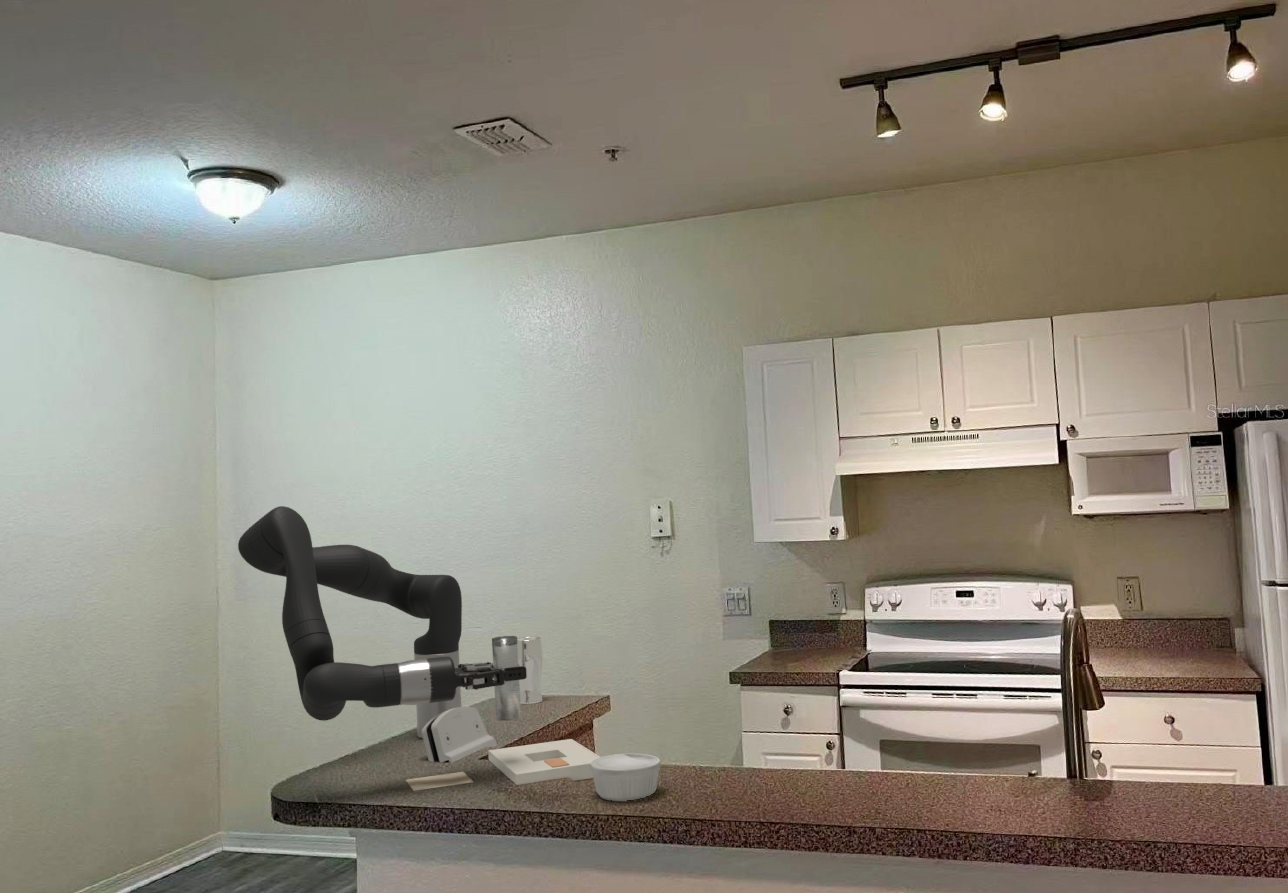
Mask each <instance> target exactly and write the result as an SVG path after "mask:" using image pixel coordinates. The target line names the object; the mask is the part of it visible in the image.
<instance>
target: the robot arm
mask: <svg viewBox="0 0 1288 893" xmlns="http://www.w3.org/2000/svg"><path fill="white" fill-rule="evenodd" d="M237 543H238V544H237V545H238V547H237V549H238V552H239V554H240V556H241V557H242V559H243V560H244V561H245V562H246V563H247V564H248V565H249V566H251V567H253V568H254V569H256V570H259V571H260V572H263V573H266V574H270V575H273V576H275V575H276V576H280V577H285V578H286V580H285V590H284V597H283V603H282V610H281V611H282V613H281V620H282V621H281V622H282V623H281V624H282V628H283V629H282V630H283V634H284V637H285V641H286V644H287V646H288V651H289V653H290V656H291V658H292V661H293V664H294V669H295V673H296V680H297V686H298V690H299V695H300V699H301V703H302V705H303V708H304V709H305V712H306V713H307V714H308V715H309V716H310V717H311V718H313V719H315V720H317V721H329V720H333V719H335V718H336V717H337V716H339V715H341V713H342V711H343V709H344V708H345V706H346V703H347V702H348V701H350V702H351V701H354V702H355V701H358V702H362V701H363V703H364V704H365V706H367V707H369V708H374V709H375V708H386V707H393V706H394V707H395V706H404V705H405V706H416V728H417V730H416V732H417V737H418V738H420V739H423V736H422V729H423V728H424V726H425V725H426V724H427V723H428V722H429V721H430V720H431V719H433V718H434V717H436V716H437V715H438V714H440V713H442V712H445V711H447V710H450V709H453V708H458V707H462V689H461V687H462V688H465V689H464V690H465V691H466V690H480V689H487V688H492V687H494V686H498V685H504V683H505V682H506V681H513V680H522V679H526V677H527V674H526V667H524V666H518V667H510V668H503V667H500V668H493V662H490V661H487V662H477V663H476V662H475V663H460V650H459V648H460V647H459V646H460V640H461V637H462V624H463V623H462V622H463V621H462V617H463V616H462V615H463V611H462V610H463V606H462V605H463V602H462V600H463V598H462V591H461V587H460V584H459V582H458V581H457V579H456V578H455V577H454V576H452V575H449V574H415V573H408V572H405V571H401V570H398V569H397V568H396V569H395V568H393V567H392V565H391V564H390V562H389V561H388V560H387V559H386V558H384V556H382V555H380V554H378V553H376V552H375V551H372V550H369V549H366V548H364V547H360V546H358V545H354V544H332V545H323V546H313V541H312V536H311V532H310V529H309V527H308V524H307V523H306V521H305V519H304V518H303V516H302V515H301V514H300V513H298V512H297V511H296V510H295V509H293V508H291V507H288V506H284V505H283V506H281V505H280V506H276V507H275V508H273V509H271V510H269V511H268V512H267V513H265V515H263V516H262V517H261V518H259V519H258V520H257V521H255V523H253V524H252V525H250V527H249V528H247V529H246V531H245V532H243V533H242V535H241V536H240V538H239V540H238V542H237ZM318 585H320V586H324V587H325V588H326V587H327V588H330V589H333V590H336V591H339V592H342V593H345V594H347V595H351V596H353V597H356V598H361V599H364V600H368V601H373V602H378V603H383V604H386V605H389V606H391V607H393V608H395V609H397V610H399V611H401V612H403V613H405V614H407V615H410V616H412V617H413V618H417V619H424V620H429V621H428V624H429V625H428V629H427V631H426V633H425V634H423V635H421V636H419V637H417V638H416V639H415V640H414V642H413V655H414V656H413V657H414V658H413V659H410V660H406V661H402V662H401V661H400V662H394V663H384V664H383V663H382V664H377V665H367V664H361V663H353V662H352V663H351V662H340V661H339V662H338V661H336V662H335V658H334V657H335V656H334V645H333V639H332V636H331V634H330V630H329V627H328V624H327V621H326V617H325V615H324V612H323V608H322V603H321V600H320V594H319V589H318V588H319V586H318ZM494 674H497V680H494Z"/></svg>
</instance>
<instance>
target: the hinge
mask: <svg viewBox="0 0 1288 893" xmlns="http://www.w3.org/2000/svg"><path fill="white" fill-rule="evenodd" d="M422 736H423V738H422V740H423V744H424V747H425V752H426V755H427V759H428V762H432V763H434V762H435V763H436V762H439V763H445V762H446V761H448V762H449V763H454V762H456V761H458V760H461V759H463V758H465V757H468V756H469V755H472V754H474V753H475V752H478V751H480V750H482V749H489V748H496V747H498V744H497V741H496V737H494V736H492V735H490V734H489V732H488V731H487V728H486V725H485V723H484V721H483V719H482V716H481V715H480V713H479V710H478V709H477V708H475V707H472V706H461V707H458V708H453V709H450V710H447V711H445V712H442V713H440V714H438V715H437V716H436V717H434V718H433V719H431V720H430V721H429V722H428V723H427V724H426V725H425V726H424V728H423V729H422Z"/></svg>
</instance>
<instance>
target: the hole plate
mask: <svg viewBox="0 0 1288 893" xmlns="http://www.w3.org/2000/svg"><path fill="white" fill-rule="evenodd" d="M487 752H488V761H489V762H491V763H492V764H493V766H495V767H496V768H497V769H498V770H499V771H500V772H502V773H503V774H504V775H505V776H506V777H507V778H509V780H510V781H512V782H513V783H514V784H515V785H516V786H518V785H519V786H520V785H525V784H533V783H534V784H535V783H539V782H545V781H553V780H559V779H566V778H569V779H570V780H572V781H573V782H576V781H582V780H590V779H594V778H593V773H592V771H591V768H590V764H591V762H592V761H593V760H595V759H597V758H600V757H601V756H600V755H598V754H596V753H595V752H594V751H592V750H590V749H589V748H587V747H585V746H584V745H582V744H581V743H579V742H578V741H576V740H574V739H572V738H567V739H560V740H552V741H545V742H540V743H533V744H532V743H531V744H527V745H526V744H525V745H518V746H511V747H509V746H508V747H502V748H496V749H489V750H488V751H487Z"/></svg>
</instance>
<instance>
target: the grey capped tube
mask: <svg viewBox="0 0 1288 893" xmlns="http://www.w3.org/2000/svg"><path fill="white" fill-rule="evenodd" d="M517 638H518V636H516V635H504V636H495V637H492V638H491V642H492V643H491V645H492V646H491V647H492V648H491V649H492V650H491V651H492V663H493V668H500V667H503V668H510V667H518V666H519V664H518V645H517ZM493 680H497V674H494V679H493ZM493 687H494V704H495V707H494V708H495V719H496V720H497V721H501V722H502V721H514V720H518V719H521V718H522V708H521V707H522V704H521V701H520V683H519V680H513V681H506V682H505V683H504V685H498V686H493Z"/></svg>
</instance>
